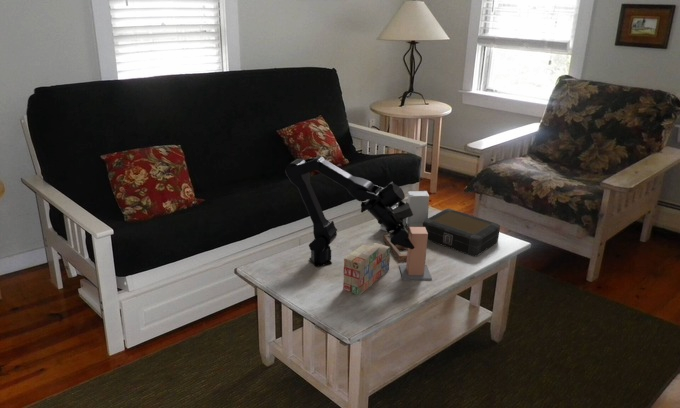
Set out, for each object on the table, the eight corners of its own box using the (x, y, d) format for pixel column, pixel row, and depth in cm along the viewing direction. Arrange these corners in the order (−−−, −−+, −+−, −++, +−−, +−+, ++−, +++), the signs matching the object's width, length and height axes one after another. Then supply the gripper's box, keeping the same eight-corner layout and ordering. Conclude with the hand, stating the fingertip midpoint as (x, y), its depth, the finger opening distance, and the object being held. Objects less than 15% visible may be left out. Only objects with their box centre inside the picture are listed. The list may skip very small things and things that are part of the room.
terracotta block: (408, 275, 197) (411, 233, 191) (406, 267, 202) (409, 226, 196) (424, 275, 198) (428, 233, 192) (421, 267, 203) (425, 226, 197)
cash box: (419, 238, 227) (420, 221, 224) (445, 223, 242) (447, 207, 239) (474, 258, 212) (477, 240, 209) (499, 241, 227) (502, 224, 224)
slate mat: (403, 279, 195) (403, 278, 195) (399, 266, 205) (399, 264, 204) (431, 279, 196) (431, 278, 196) (426, 266, 205) (426, 264, 205)
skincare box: (424, 223, 241) (427, 190, 236) (427, 228, 236) (430, 195, 230) (405, 222, 241) (407, 190, 235) (407, 228, 235) (410, 195, 230)
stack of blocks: (374, 265, 205) (375, 234, 200) (389, 270, 202) (391, 239, 197) (342, 290, 188) (343, 257, 183) (358, 296, 185) (360, 262, 180)
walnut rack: (399, 260, 208) (399, 256, 208) (383, 239, 225) (383, 234, 224) (424, 258, 211) (424, 253, 210) (406, 237, 227) (406, 232, 227)
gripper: (403, 207, 180) (434, 239, 185) (395, 187, 198) (424, 216, 203) (377, 229, 183) (408, 260, 188) (372, 207, 200) (400, 236, 205)
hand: (411, 242), depth 196 cm, fingers open, 9 cm apart
